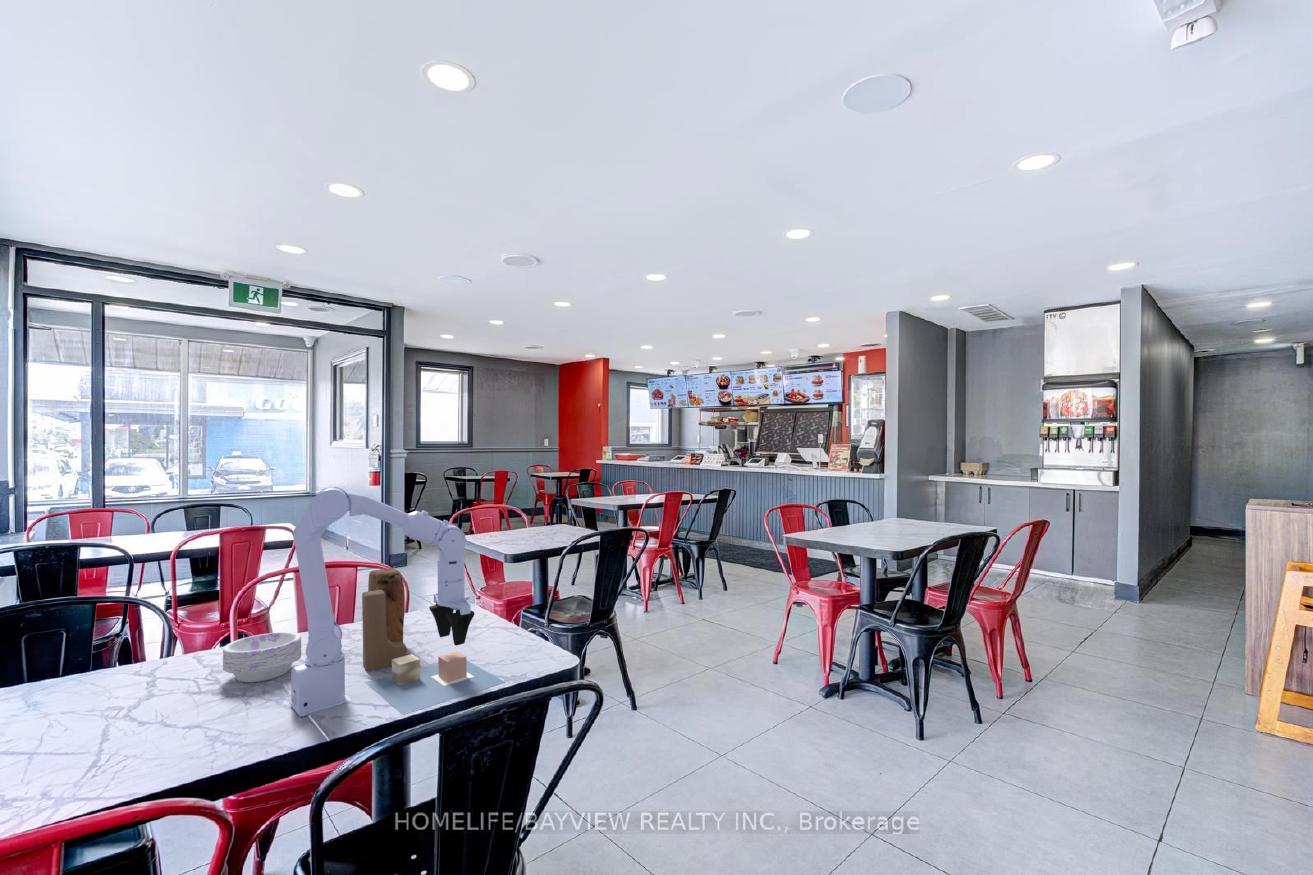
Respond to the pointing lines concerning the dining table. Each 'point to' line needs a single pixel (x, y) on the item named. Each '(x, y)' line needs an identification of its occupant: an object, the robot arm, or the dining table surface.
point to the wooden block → (377, 633)
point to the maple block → (405, 669)
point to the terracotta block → (452, 666)
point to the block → (391, 600)
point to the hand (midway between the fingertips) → (451, 640)
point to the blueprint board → (432, 688)
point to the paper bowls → (262, 656)
